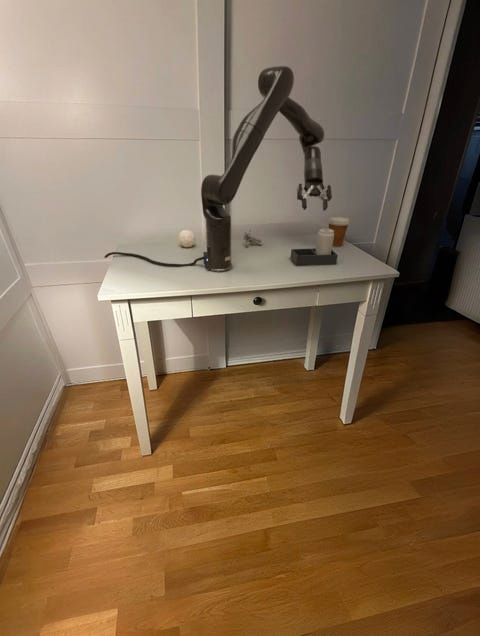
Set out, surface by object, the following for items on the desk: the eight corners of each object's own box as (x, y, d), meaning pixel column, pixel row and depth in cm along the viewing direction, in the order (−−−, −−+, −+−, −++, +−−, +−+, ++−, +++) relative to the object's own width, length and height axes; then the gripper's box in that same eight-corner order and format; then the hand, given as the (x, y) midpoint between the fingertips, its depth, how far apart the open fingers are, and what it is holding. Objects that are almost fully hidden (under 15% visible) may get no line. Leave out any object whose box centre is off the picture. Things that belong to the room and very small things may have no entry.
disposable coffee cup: (339, 248, 143) (344, 222, 137) (321, 244, 149) (324, 218, 143) (348, 244, 150) (353, 218, 143) (330, 240, 155) (334, 215, 149)
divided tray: (295, 266, 125) (297, 256, 123) (290, 258, 132) (291, 249, 130) (336, 264, 127) (337, 254, 125) (328, 257, 134) (329, 247, 132)
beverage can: (328, 256, 132) (333, 228, 126) (331, 262, 127) (336, 232, 120) (313, 256, 133) (317, 227, 126) (315, 261, 127) (319, 232, 121)
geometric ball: (186, 251, 147) (185, 234, 148) (199, 247, 143) (198, 230, 144) (174, 246, 141) (174, 229, 142) (188, 243, 137) (187, 225, 137)
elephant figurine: (261, 249, 142) (243, 242, 140) (257, 255, 148) (239, 248, 146) (265, 231, 146) (247, 224, 144) (261, 237, 151) (243, 230, 149)
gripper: (299, 166, 127) (301, 204, 125) (333, 168, 129) (335, 205, 127) (294, 176, 134) (295, 212, 132) (325, 178, 136) (327, 214, 134)
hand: (315, 209), depth 130 cm, fingers open, 8 cm apart
